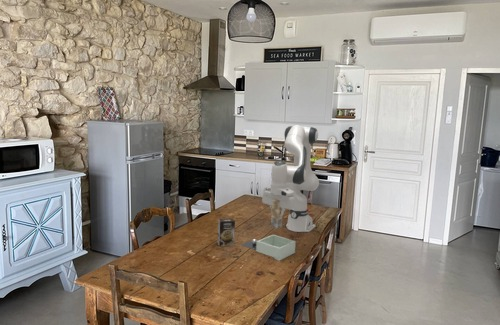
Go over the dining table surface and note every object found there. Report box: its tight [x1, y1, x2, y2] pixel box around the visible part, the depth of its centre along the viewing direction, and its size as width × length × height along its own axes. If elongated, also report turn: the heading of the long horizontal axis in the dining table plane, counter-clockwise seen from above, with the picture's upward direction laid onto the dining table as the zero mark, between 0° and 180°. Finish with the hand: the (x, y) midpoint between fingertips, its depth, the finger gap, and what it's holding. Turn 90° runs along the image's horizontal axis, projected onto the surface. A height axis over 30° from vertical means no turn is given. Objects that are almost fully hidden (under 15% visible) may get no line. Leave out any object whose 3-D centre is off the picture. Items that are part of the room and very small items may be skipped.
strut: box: [270, 199, 283, 229], centre depth 212 cm, size 4×4×16 cm
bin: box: [255, 234, 296, 261], centre depth 215 cm, size 16×16×7 cm
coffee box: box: [217, 217, 236, 247], centre depth 223 cm, size 9×6×16 cm
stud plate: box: [240, 238, 258, 251], centre depth 224 cm, size 12×12×5 cm
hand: (277, 213), depth 212 cm, fingers closed on strut, 4 cm apart
